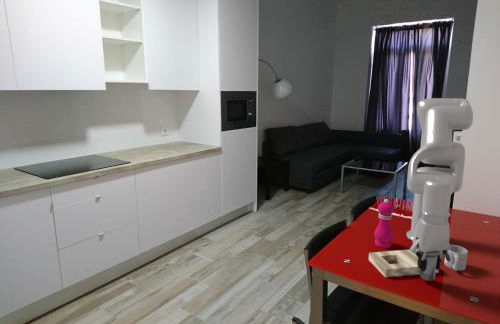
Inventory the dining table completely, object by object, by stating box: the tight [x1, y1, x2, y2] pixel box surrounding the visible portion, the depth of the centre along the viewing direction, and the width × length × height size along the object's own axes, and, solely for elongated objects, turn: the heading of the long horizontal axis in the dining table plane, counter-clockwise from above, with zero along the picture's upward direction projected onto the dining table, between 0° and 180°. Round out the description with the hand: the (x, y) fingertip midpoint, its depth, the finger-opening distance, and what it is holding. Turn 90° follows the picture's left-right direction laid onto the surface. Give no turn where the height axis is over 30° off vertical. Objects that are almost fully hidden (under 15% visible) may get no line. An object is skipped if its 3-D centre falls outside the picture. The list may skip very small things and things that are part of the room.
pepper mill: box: [374, 198, 395, 249], centre depth 134 cm, size 7×7×20 cm
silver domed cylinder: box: [419, 251, 440, 282], centre depth 108 cm, size 5×5×10 cm
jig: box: [368, 248, 440, 278], centre depth 119 cm, size 20×12×5 cm, turn 98°
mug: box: [443, 244, 469, 272], centre depth 117 cm, size 10×7×7 cm
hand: (428, 267), depth 109 cm, fingers closed on silver domed cylinder, 4 cm apart
